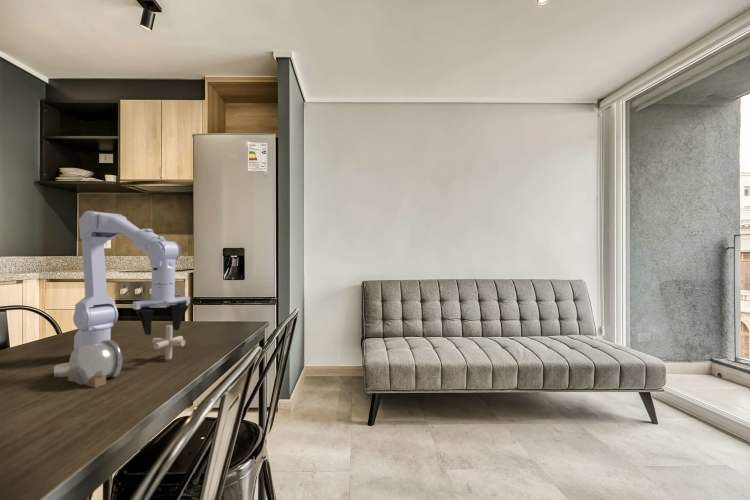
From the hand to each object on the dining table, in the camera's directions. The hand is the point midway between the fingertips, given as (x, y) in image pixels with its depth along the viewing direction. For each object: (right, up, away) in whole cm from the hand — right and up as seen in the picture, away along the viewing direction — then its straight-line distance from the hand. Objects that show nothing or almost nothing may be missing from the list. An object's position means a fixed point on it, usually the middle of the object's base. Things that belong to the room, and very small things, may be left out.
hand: (162, 332), depth 103 cm
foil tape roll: (-21, -10, -7) cm, 24 cm away
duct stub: (-10, -10, -11) cm, 18 cm away
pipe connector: (-3, -10, +8) cm, 13 cm away
